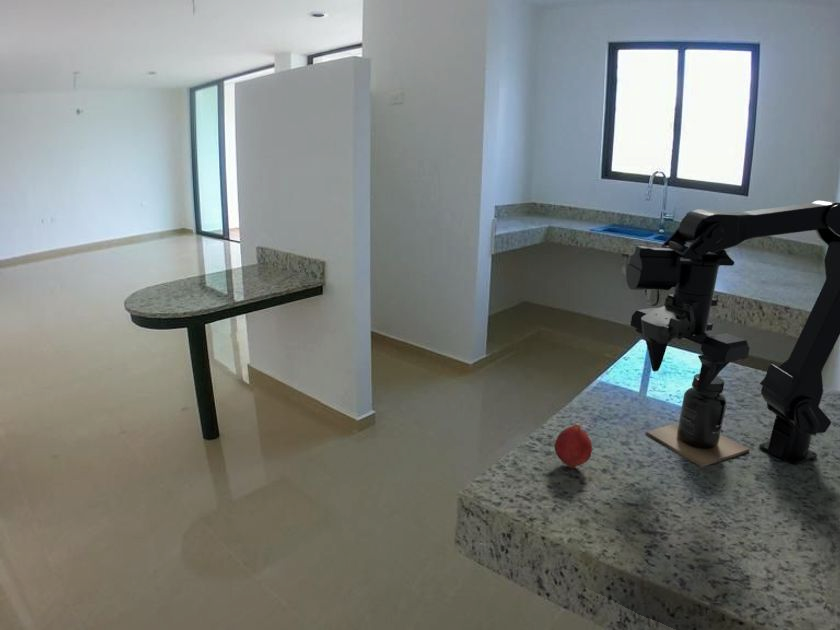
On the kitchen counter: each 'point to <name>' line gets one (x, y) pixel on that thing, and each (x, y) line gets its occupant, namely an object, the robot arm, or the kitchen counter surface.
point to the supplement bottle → (702, 415)
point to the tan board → (697, 455)
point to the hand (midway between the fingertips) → (676, 381)
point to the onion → (573, 446)
